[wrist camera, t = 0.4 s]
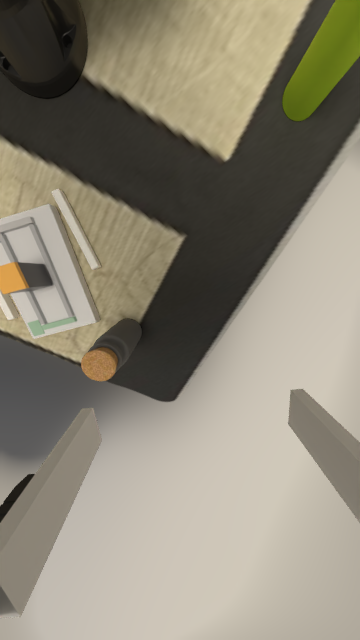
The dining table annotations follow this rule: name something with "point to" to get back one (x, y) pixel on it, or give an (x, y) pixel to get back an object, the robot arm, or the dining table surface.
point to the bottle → (111, 350)
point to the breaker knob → (23, 277)
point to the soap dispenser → (324, 60)
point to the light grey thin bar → (76, 228)
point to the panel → (61, 265)
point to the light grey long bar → (8, 306)
